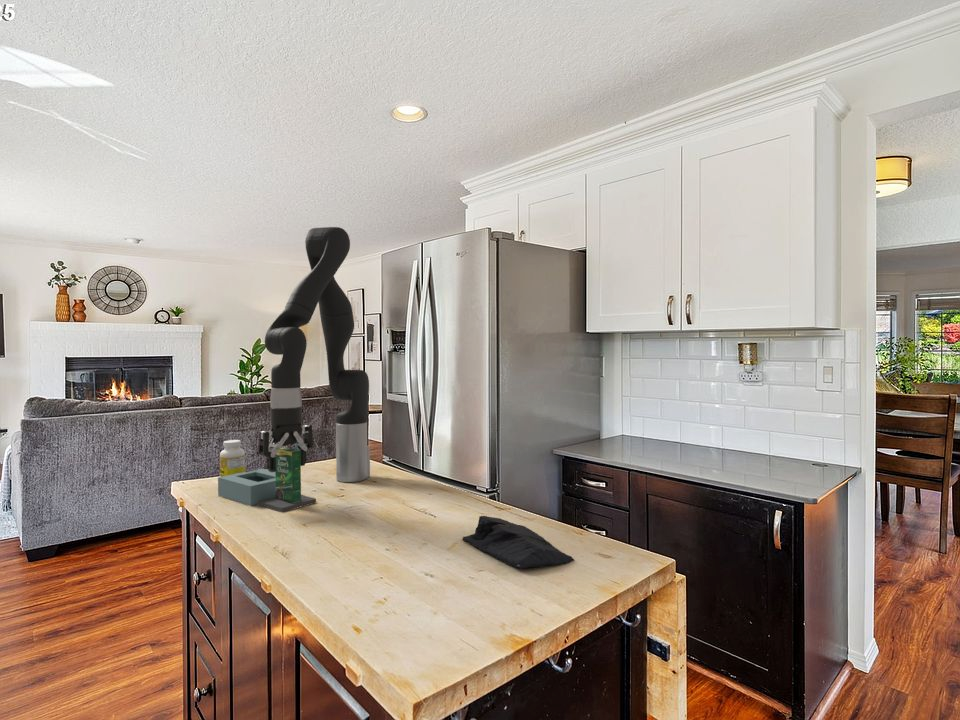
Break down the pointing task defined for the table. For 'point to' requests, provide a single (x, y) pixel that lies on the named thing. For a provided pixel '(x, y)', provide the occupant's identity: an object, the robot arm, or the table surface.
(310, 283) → the robot arm
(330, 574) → the table surface
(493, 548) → the black cloth
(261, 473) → the box
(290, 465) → the coffee box
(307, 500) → the rubber mat
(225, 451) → the supplement bottle
